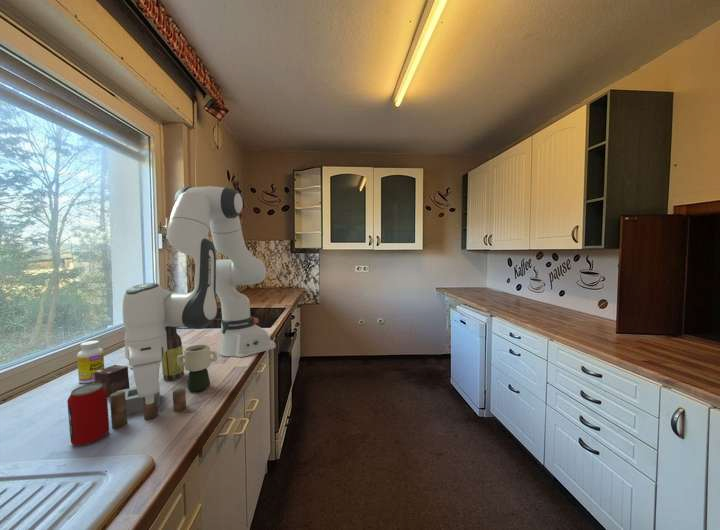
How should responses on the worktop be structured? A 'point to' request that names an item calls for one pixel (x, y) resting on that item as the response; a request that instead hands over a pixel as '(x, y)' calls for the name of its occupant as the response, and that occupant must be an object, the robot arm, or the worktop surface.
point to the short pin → (179, 400)
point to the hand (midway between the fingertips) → (150, 399)
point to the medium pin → (118, 409)
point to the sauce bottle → (172, 355)
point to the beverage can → (88, 414)
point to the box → (113, 378)
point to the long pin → (150, 409)
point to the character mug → (197, 365)
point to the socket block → (136, 400)
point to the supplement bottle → (89, 361)
